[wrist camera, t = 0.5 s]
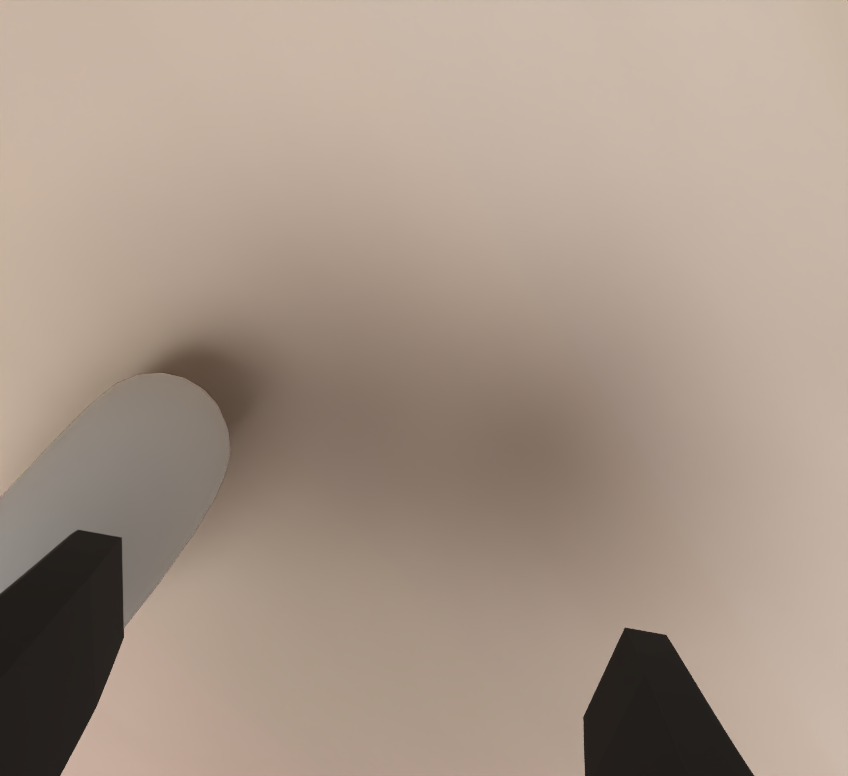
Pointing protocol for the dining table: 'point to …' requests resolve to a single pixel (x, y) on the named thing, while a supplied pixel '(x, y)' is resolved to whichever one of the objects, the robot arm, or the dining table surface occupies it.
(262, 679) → the dining table surface
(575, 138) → the dining table surface
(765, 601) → the dining table surface
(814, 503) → the dining table surface
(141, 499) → the donut
